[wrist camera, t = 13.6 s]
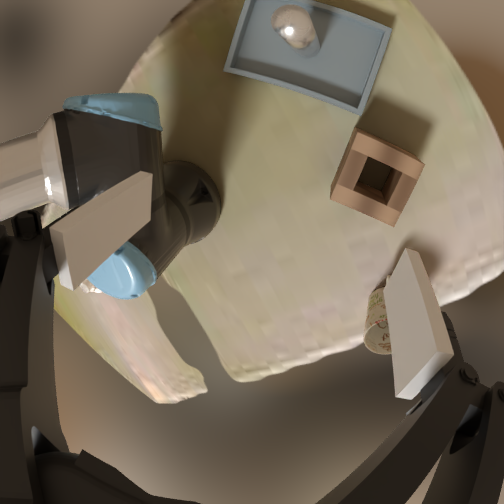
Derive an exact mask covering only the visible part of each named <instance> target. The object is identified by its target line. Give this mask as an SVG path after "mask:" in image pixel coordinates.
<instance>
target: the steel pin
mask: <svg viewBox="0 0 504 504" xmlns="http://www.w3.org/2000/svg"><path fill="white" fill-rule="evenodd" d="M271 25H272V28H273V30H274V31H275V32H276V33H277V34H278V35H279V36H280V37H281V38H282V39H283V40H284V41H285V42H286V43H287V44H288V45H289V46H291V47H292V48H293V49H294V50H295V51H296V53H297V54H299V55H300V56H302V57H304V58H312V57H314V56H316V55H317V54H318V53H319V51H320V43H319V40H318V37H317V34H316V32H315V29H314V26H313V23H312V21H311V18H310V15H309V14H308V12H307V11H306V10H305V9H304V8H302V7H300V6H297V5H291V4H290V5H284V6H281V7H279V8H278V9H276V10H275V12H274V13H273V14H272V17H271Z"/></svg>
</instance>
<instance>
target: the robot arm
mask: <svg viewBox="0 0 504 504" xmlns="http://www.w3.org/2000/svg"><path fill="white" fill-rule="evenodd" d="M63 109H64V111H61V112H57V113H53V114H50V115H49V116H48V118H47V119H46V121H45V122H44V124H43V125H42V127H41V128H40V129H39V130H38V131H36V132H32V133H29V134H26V135H23V136H20V137H17V138H14V139H11V140H9V141H6V142H3V143H0V221H2V220H4V219H7V218H9V217H12V216H13V218H12V219H11V222H12V227H13V232H14V236H8V235H7V231H6V227H5V226H4V225H1V224H0V504H200V503H197V502H193V501H184V500H177V499H170V498H163V497H158V496H153V495H150V494H148V493H146V492H145V491H144V490H142V489H141V488H140V487H138V486H137V485H136V484H134V483H133V482H132V481H131V480H129V479H128V478H127V477H125V476H124V475H123V474H122V473H121V472H119V471H118V470H117V469H116V468H114V467H112V466H111V465H109V464H107V463H105V462H103V461H101V460H100V459H98V458H96V457H94V456H93V455H91V454H89V453H87V452H86V451H84V450H82V451H81V453H80V454H76V453H71V452H69V449H68V445H67V443H66V440H65V437H64V435H63V433H62V430H61V426H60V421H59V413H58V406H57V397H56V386H55V373H54V353H53V308H54V287H55V285H54V280H53V278H54V277H55V276H56V275H57V274H59V278H60V282H61V285H63V286H65V287H67V288H69V289H71V290H73V291H74V290H75V289H76V288H77V287H78V286H79V285H80V284H81V283H82V282H83V281H84V280H85V279H88V280H89V281H90V282H91V283H92V284H93V285H94V286H95V287H96V288H98V289H99V290H101V291H102V292H104V293H106V294H108V295H110V296H112V297H115V298H119V299H134V298H137V297H139V296H140V295H142V294H143V293H144V292H145V291H146V290H147V289H148V287H150V286H152V285H153V284H154V283H155V282H156V280H157V279H158V277H159V276H160V275H161V274H162V272H163V271H164V270H165V269H166V268H167V266H168V265H169V264H170V263H171V262H172V260H173V259H174V258H175V257H176V255H177V254H178V253H179V252H180V251H181V249H182V248H183V247H185V246H187V245H189V244H193V243H196V242H198V241H200V240H202V239H203V238H205V237H206V236H207V235H208V234H209V233H210V232H211V231H212V230H213V228H214V227H215V226H216V224H217V222H218V220H219V217H220V212H221V201H220V196H219V193H218V190H217V188H216V186H215V184H214V182H213V181H212V179H211V178H210V177H209V176H208V175H207V174H206V173H205V172H204V171H203V170H202V169H201V168H199V167H197V166H196V165H194V164H191V163H188V162H185V161H170V162H167V163H164V164H163V155H162V137H161V131H162V127H161V125H160V117H159V106H158V103H157V101H156V99H155V98H154V97H152V96H151V95H148V94H142V93H107V94H93V95H84V96H74V97H69V98H67V99H66V100H65V101H64V105H63ZM47 203H54V204H56V205H58V206H59V207H61V208H63V209H64V210H69V209H71V210H70V211H68V212H67V214H66V213H65V214H64V215H62V216H61V218H60V217H59V218H58V219H56V220H55V221H53V222H52V223H50V224H49V225H48V226H46V227H45V228H43V229H42V224H41V218H40V213H39V212H38V211H36V210H30V209H32V208H35V207H38V206H41V205H43V204H47ZM72 208H73V209H72ZM14 215H15V216H14ZM383 293H384V299H385V306H386V312H387V319H388V326H389V334H390V342H391V350H392V360H393V370H394V383H395V396H396V397H399V398H405V399H412V398H414V397H415V396H416V395H417V394H418V393H419V392H420V391H421V398H422V399H421V400H420V401H419V402H418V403H417V404H416V405H415V406H414V407H412V408H411V409H410V410H409V411H408V412H407V413H406V414H407V416H406V417H405V418H404V420H403V421H402V422H401V423H400V424H399V425H398V427H397V428H396V429H395V430H394V431H393V432H392V433H391V434H390V436H388V438H387V439H386V440H385V441H384V442H383V443H382V444H381V445H380V446H379V447H378V448H377V449H376V450H375V451H374V452H373V453H372V454H371V455H370V456H369V457H368V458H367V459H366V460H365V461H364V462H363V463H362V464H361V465H360V466H359V467H358V468H357V469H356V470H355V471H353V472H352V473H351V474H350V475H349V476H348V477H347V478H346V479H345V480H343V481H342V482H341V483H340V484H339V485H338V486H337V487H335V488H334V489H333V490H332V491H331V492H329V493H328V494H327V495H326V496H325V497H324V498H322V499H321V500H319V501H318V502H317V503H316V504H405V503H406V502H407V501H408V499H409V498H410V497H411V496H412V494H413V493H414V492H415V491H416V489H417V488H418V486H419V485H420V484H421V483H422V481H423V480H424V479H425V477H426V476H427V475H428V473H429V472H430V470H431V469H432V468H433V466H434V465H435V463H436V462H437V460H438V459H439V457H440V456H441V454H442V456H441V459H440V461H439V464H438V467H437V469H436V472H435V474H434V477H433V479H432V482H431V484H430V486H429V489H428V491H427V493H426V496H425V498H424V500H423V502H422V504H497V503H498V499H499V496H500V492H501V488H502V483H503V479H504V383H503V382H496V383H495V384H494V385H493V386H492V387H491V388H488V387H486V386H484V385H483V384H481V383H479V382H480V381H479V377H478V374H477V372H476V370H475V369H474V368H473V367H472V366H471V365H469V364H468V363H466V362H464V360H463V357H462V353H461V350H460V346H459V343H458V340H457V339H456V338H457V337H456V334H455V332H454V328H453V325H452V322H451V320H450V319H449V317H448V316H447V314H446V313H445V312H442V311H441V310H440V307H439V304H438V302H437V299H436V296H435V293H434V290H433V288H432V285H431V282H430V280H429V277H428V275H427V272H426V270H425V267H424V265H423V262H422V260H421V257H420V255H419V253H418V252H417V251H414V250H411V249H408V248H405V249H404V251H403V253H402V256H401V257H400V259H399V261H398V263H397V265H396V267H395V269H394V271H393V273H392V275H391V277H390V279H389V281H388V282H387V284H386V286H385V288H384V290H383Z"/></svg>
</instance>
